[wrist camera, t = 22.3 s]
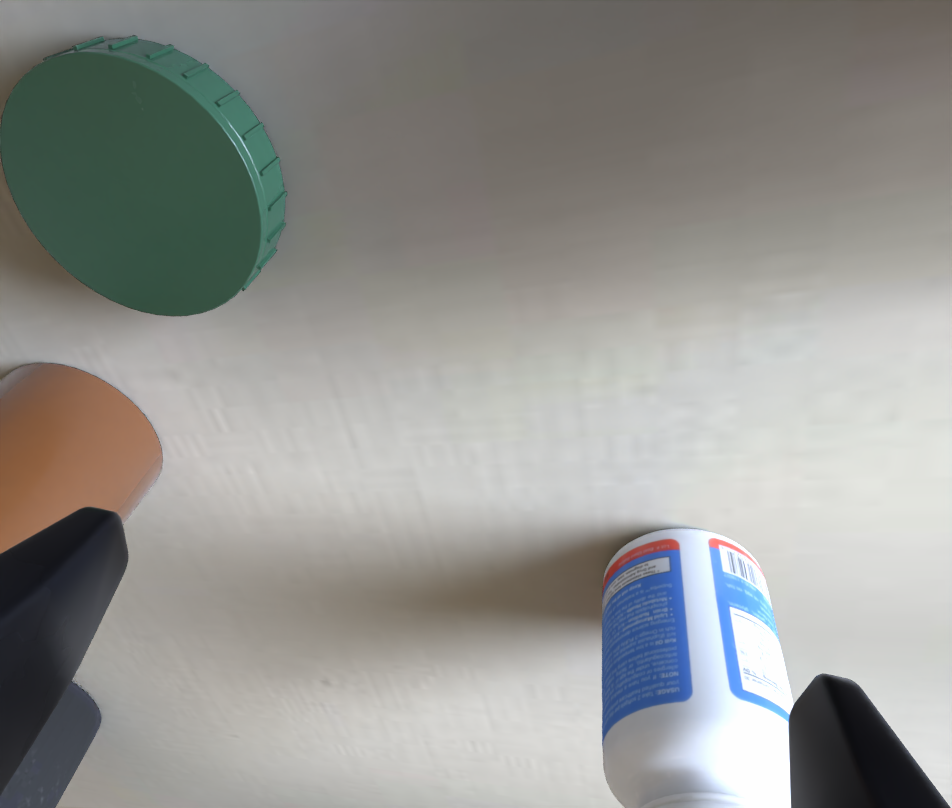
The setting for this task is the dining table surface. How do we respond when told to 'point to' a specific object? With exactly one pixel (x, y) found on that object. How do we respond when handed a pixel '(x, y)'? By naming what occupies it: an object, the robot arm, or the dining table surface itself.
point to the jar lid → (143, 175)
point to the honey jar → (69, 449)
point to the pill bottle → (692, 677)
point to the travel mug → (54, 753)
